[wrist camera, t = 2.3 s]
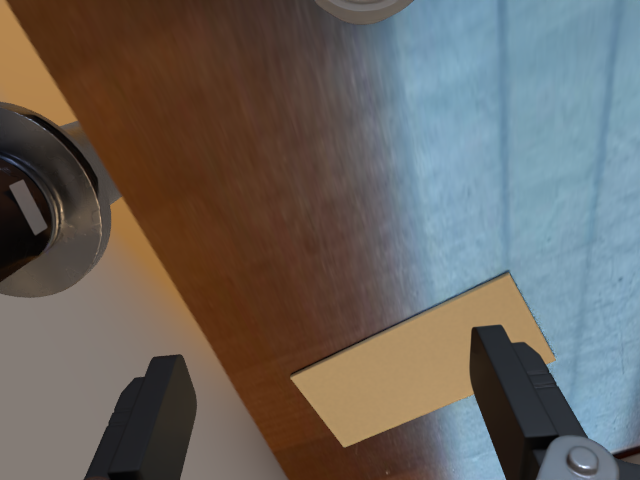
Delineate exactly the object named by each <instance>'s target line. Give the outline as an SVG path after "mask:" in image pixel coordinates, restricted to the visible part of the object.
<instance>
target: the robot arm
mask: <svg viewBox="0 0 640 480" xmlns="http://www.w3.org/2000/svg"><path fill="white" fill-rule="evenodd" d="M58 224H59V220H58V212H57V207H56V204H55V201H54V199H53V197H52V195H51V193H50V191H49V189H48V188H47V186H46V185H45V183H44V182H43V181H42V180H41V179H40V177H39V176H38V175H37V174H36V173H35V172H34V171H32V170H31V169H30V168H29V167H28V166H26V165H25V164H23V163H22V162H20V161H18V160H17V159H14V158H12V157H10V156H8V155H5V154H1V153H0V282H1V281H3V280H4V279H6V278H7V277H9V276H10V275H12V274H13V273H15V272H16V271H17V270H19V269H20V268H22V267H23V266H24V265H26V264H27V263H29V262H31V261H33V260H35V259H37V258H38V257H40V256H41V255H42V254H44V253H45V252H46V251H47V250H48V249H49V248H50V247H51V246H52V244H53V242H54V240H55V238H56V235H57V232H58ZM469 374H470V381H471V385H472V389H473V392H474V395H475V398H476V400H477V403H478V406H479V408H480V411H481V414H482V416H483V419H484V422H485V424H486V427H487V430H488V432H489V435H490V438H491V440H492V443H493V446H494V448H495V451H496V454H497V456H498V459H499V462H500V464H501V467H502V470H503V472H504V475H505V478H506V480H640V465H638V464H633V463H628V462H624V461H622V460H619V459H616V458H614V457H613V456H612V455H611V453H610V452H609V451H608V450H607V449H605V448H604V447H603V446H602V445H600V444H599V443H597V442H595V441H593V440H591V439H589V438H588V436H587V435H586V434H585V432H584V430H583V428H582V427H581V425H580V423H579V421H578V420H577V418H576V416H575V415H574V413H573V411H572V409H571V408H570V406H569V404H568V402H567V401H566V399H565V397H564V395H563V394H562V392H561V390H560V389H559V387H558V386H557V385H556V382H555V380H554V378H553V376H552V375H551V373H549V369H548V368H547V366H546V364H545V362H544V361H543V359H542V357H541V356H540V354H539V353H537V352H536V351H535V350H534V349H533V348H531V347H530V346H529V345H528V344H526V343H525V342H515V343H511V341H510V339H509V337H508V335H507V333H506V331H505V329H504V328H503V326H502V325H500V324H498V325H488V326H478V327H473V328H472V330H471V344H470V362H469ZM196 409H197V401H196V394H195V390H194V387H193V384H192V381H191V378H190V375H189V372H188V369H187V366H186V363H185V360H184V358H183V356H182V355H180V354H179V355H169V356H158V357H153V358H152V360H151V361H150V364H149V366H148V369H147V372H146V374H145V377H138V378H134V379H133V381H132V382H131V383H130V384H129V385H128V386H127V387H126V388H125V389H124V390H123V392H122V393H121V395H120V397H119V399H118V402H117V404H116V406H115V409H114V413H112V416H111V418H110V420H109V425H108V426H107V428H106V430H105V432H104V434H103V437H102V439H101V441H100V444H99V446H98V448H97V451H96V453H95V455H94V458H93V460H92V462H91V465H90V467H89V469H88V471H87V474H86V476H85V478H84V480H180V477H181V473H182V469H183V465H184V461H185V457H186V453H187V449H188V445H189V441H190V437H191V432H192V429H193V425H194V420H195V416H196Z"/></svg>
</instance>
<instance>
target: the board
mask: <svg viewBox="0 0 640 480" xmlns="http://www.w3.org/2000/svg"><path fill="white" fill-rule="evenodd" d="M498 324H500V325H502V326H503V328H504V329H505V331H506V333H507V335H508V337H509V339H510V341H511V343H515V342H525V343H526V344H528V345H529V346H530V347H531V348H533V349H534V350H535V351H536V352H537V353H539V354H540V356H541V357H542V359H543V361H544V362H545V364H548V363H551V362H553V361H555V360H556V359H555V357H554V355H553V353H552V351H551V350H550V348H549V346H548V344H547V342H546V340H545V338H544V337H543V335H542V333H541V331H540V329H539V327H538V325H537V324H536V322H535V320H534V318H533V316H532V314H531V312H530V311H529V309H528V307H527V305H526V303H525V301H524V300H523V298H522V296H521V294H520V292H519V290H518V288H517V287H516V285H515V283H514V281H513V279H512V277H511V275H510V274H509V272H507V273H505V274H503V275H501V276H499V277H497V278H495V279H493V280H490V281H488V282H486V283H484V284H482V285H480V286H478V287H476V288H474V289H471V290H469V291H467V292H465V293H463V294H461V295H459V296H457V297H455V298H452V299H450V300H448V301H446V302H444V303H442V304H440V305H438V306H436V307H433V308H431V309H429V310H427V311H425V312H423V313H421V314H419V315H417V316H414V317H412V318H410V319H408V320H406V321H404V322H402V323H400V324H398V325H396V326H393V327H391V328H389V329H387V330H385V331H383V332H381V333H379V334H377V335H374V336H372V337H370V338H368V339H366V340H364V341H362V342H360V343H358V344H355V345H353V346H351V347H349V348H347V349H345V350H343V351H341V352H339V353H336V354H334V355H332V356H330V357H328V358H326V359H324V360H322V361H320V362H317V363H315V364H313V365H311V366H309V367H307V368H305V369H303V370H301V371H298V372H296V373H294V374H292V375H291V377H290V378H291V379H292V381H293V382H294V383H295V385H296V386H297V387H298V389H299V390H300V391H301V392H302V394H303V395H304V396H305V398H306V399H307V400H308V401H309V403H310V404H311V405H312V407H313V408H314V409H315V411H316V412H317V413H318V414H319V416H320V417H321V418H322V420H323V421H324V422H325V424H326V425H327V426H328V427H329V429H330V430H331V431H332V433H333V434H334V435H335V436H336V438H337V439H338V440H339V442H340V443H341V444H342V446H343V447H347V446H349V445H352V444H354V443H357V442H359V441H361V440H364V439H366V438H369V437H371V436H374V435H376V434H378V433H381V432H383V431H386V430H388V429H391V428H393V427H395V426H398V425H400V424H403V423H405V422H408V421H410V420H412V419H415V418H417V417H420V416H422V415H425V414H427V413H429V412H432V411H434V410H437V409H439V408H441V407H444V406H446V405H449V404H451V403H454V402H456V401H458V400H461V399H463V398H466V397H468V396H471V395H473V394H474V392H473V389H472V385H471V381H470V374H469V362H470V344H471V330H472V328H473V327H478V326H488V325H498Z"/></svg>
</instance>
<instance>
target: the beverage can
mask: <svg viewBox="0 0 640 480" xmlns="http://www.w3.org/2000/svg"><path fill="white" fill-rule="evenodd" d="M313 1H315V2H316V3H317V4H318V5H319V6H320V7H321V8H322V9H324V10H325V11H327V12H328V13H330V14H332V15H333V16H335V17H337V18H338V19H340V20H342V21H345V22H347V23H351V24H356V25H366V24H374V23H377V22H380V21H382V20H384V19H386V18H388V17H390V16H392V15H394V14H396V13H398V12H400V11H401V10H403V9H404V8H406V7H407V6H408V5H409V4H410V3H412V2H413V1H414V0H313Z"/></svg>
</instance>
